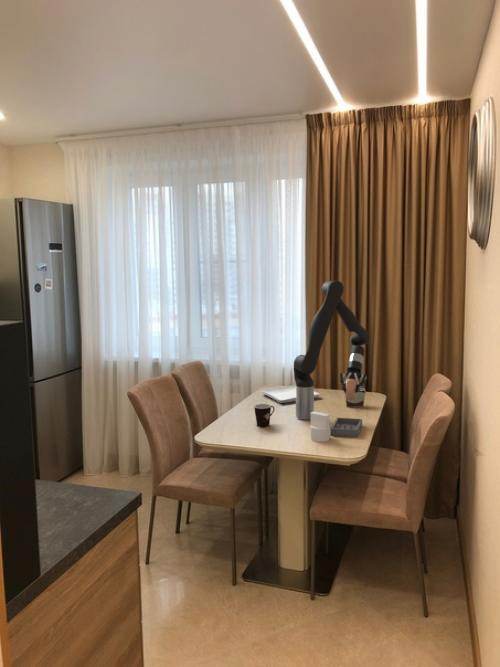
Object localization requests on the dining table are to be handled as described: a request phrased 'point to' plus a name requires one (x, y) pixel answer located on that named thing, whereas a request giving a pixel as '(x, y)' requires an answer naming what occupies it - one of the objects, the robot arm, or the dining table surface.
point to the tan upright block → (351, 389)
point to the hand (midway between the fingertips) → (350, 391)
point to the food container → (357, 399)
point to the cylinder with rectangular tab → (319, 427)
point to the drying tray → (346, 427)
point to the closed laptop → (284, 393)
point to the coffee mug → (263, 414)
